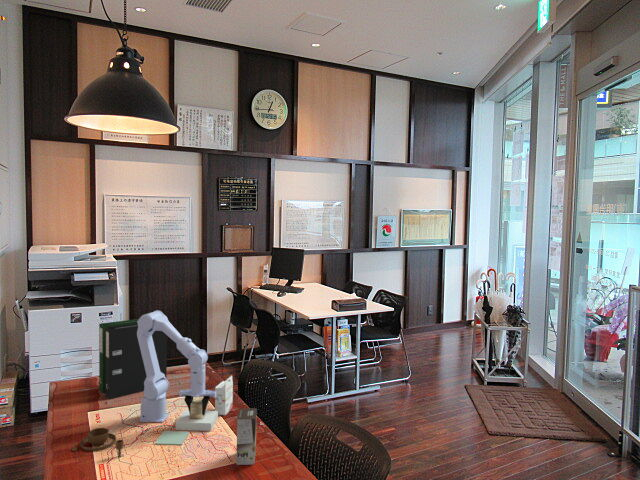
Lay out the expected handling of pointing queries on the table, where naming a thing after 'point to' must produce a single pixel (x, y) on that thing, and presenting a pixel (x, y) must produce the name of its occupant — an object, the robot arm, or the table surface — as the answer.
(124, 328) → the binder
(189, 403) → the robot arm
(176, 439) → the rubber mat
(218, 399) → the ink cartridge box
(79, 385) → the table surface
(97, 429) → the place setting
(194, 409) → the maple peg
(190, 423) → the pocket holder
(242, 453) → the coffee box
